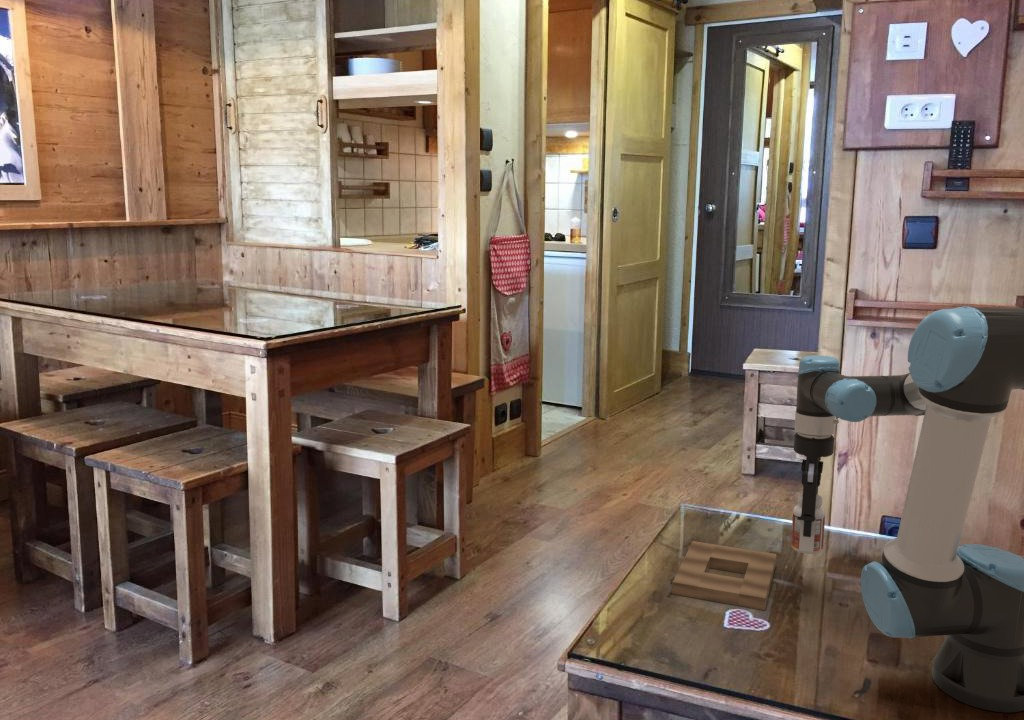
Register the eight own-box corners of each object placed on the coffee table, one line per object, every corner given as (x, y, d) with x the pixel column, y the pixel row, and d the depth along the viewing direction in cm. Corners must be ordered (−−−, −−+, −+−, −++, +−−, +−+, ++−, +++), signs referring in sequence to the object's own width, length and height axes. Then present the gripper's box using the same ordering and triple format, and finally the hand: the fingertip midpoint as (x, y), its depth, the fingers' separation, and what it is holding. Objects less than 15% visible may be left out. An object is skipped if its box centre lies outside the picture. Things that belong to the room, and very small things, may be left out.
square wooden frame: (764, 610, 169) (765, 598, 168) (672, 593, 175) (672, 582, 175) (775, 564, 189) (776, 554, 188) (692, 551, 195) (692, 541, 195)
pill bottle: (801, 540, 181) (805, 489, 179) (828, 549, 177) (832, 497, 175) (784, 548, 178) (787, 495, 176) (811, 557, 173) (815, 503, 171)
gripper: (833, 448, 163) (824, 565, 167) (836, 424, 180) (828, 531, 184) (790, 443, 165) (783, 559, 170) (797, 421, 183) (791, 526, 187)
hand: (807, 544), depth 177 cm, fingers closed on pill bottle, 6 cm apart
